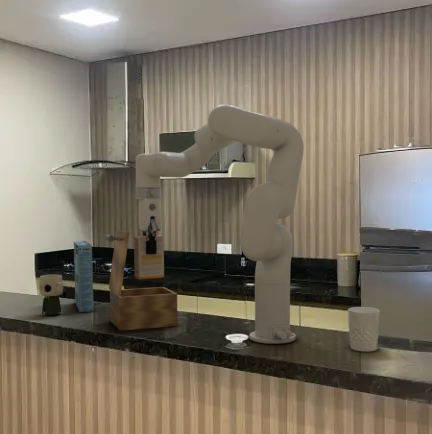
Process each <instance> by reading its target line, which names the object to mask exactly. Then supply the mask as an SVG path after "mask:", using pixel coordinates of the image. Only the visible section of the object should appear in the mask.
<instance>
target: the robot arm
mask: <svg viewBox="0 0 432 434" xmlns="http://www.w3.org/2000/svg"><path fill="white" fill-rule="evenodd" d="M193 135H194V136H193V137H194V141H195V143H194V144H193V145H191V146H190V147H188V148H187V149H185V150H183V151H181V152H173V151H157V152H153V153H139V154H137V155H136V157H135V199H136V200H138V229H139V230H140V231H141V232H140V233H141V234H140V236H147V241H146V254H156V253H157V241H156V240H157V238H156V235H157V232H160V231H161V230H162V219H161V218H162V217H161V205H160V204H161V203H160V199H161V197H162V196H161V195H162V193H161V192H162V191H161V178H178V179H179V178H185V177H188V176H190V175H191V174H193V173H195V172H196V171H198V170H200V169H202V168H203V167H204V166H205V165H207V163H209V161H211V159H212V156H214V155H215V154H217V153H219V152H220V151H222V150H223V149H225V148H227V147H230V145H232V144H234V143H236V142H237V143H240V144H244V145H247V146H250V147H253V148H260V149H267V150H271V151H272V152H273V154H272V157H271V158H270V162H269V163H268V168H267V175H266V180H265V182H262V183H260V184H257V185H256V186H254V187H253V188H252V189H251V190H250V191H249V193H248V195H247V197H246V200H245V206H244V209H243V210H244V211H243V216H242V224H241V229H240V230H241V231H240V237H239V238H240V240H239V244H240V249H241V252H242V253H243V255H244V256H245V258H247V259H249V260H250V261H253V262H256V263H255V264H256V265H255V272H254V330H253V331H252V332H250V333H249V335H248V336H249V340H250V341H253V342H255V343H259V344H270V345H271V344H272V345H279V344H280V345H281V344H288V343H292V342H294V341H295V340H296V339H297V336H296V334H295V333H294V332H292V331H291V263H292V255H293V249H294V239H293V235H292V232H291V231H290V230H289V229H288V228H287V226H286V225H283V224H281V223H278V221H279V220H280V219H281V220H282V219H286V218H288V217H289V216H290V215H292V214H293V212H294V209H295V205H296V200H297V193H298V188H299V182H300V174H301V169H302V168H301V167H302V162H303V158H304V150H305V149H304V140H303V137H302V135H301V133H300V131H299V130H298V129H297V128H296V127H295V126H294V125H293V124H291V123H290V122H288V121H286V120H284V119H282V118H278V117H275V116H270V115H266V114H261V113H258V112H254V111H250V110H247V109H244V108H242V107H240V106H236V105H231V104H227V103H222V104H219V105H217V106H215V107H214V108H212V110H211V111H210V112H209V115H208V118H207V123H206V124H204V125H202V126H201V127H198V128H197V129H196V130H195V131H194V134H193Z"/></svg>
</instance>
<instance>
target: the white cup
mask: <svg viewBox="0 0 432 434" xmlns="http://www.w3.org/2000/svg"><path fill="white" fill-rule="evenodd" d="M347 315H348V316H347V317H348V337H349V347H350V350H353V351H357V352H364V353H365V352H368V353H369V352H375V351H377V350H378V345H379V344H378V343H379V340H378V339H379V333H380V316H381V310H380V309H379V308H376V307H369V306H354V307H353V306H352V307H349V308H348V309H347Z"/></svg>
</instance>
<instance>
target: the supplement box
mask: <svg viewBox="0 0 432 434" xmlns="http://www.w3.org/2000/svg"><path fill="white" fill-rule="evenodd" d="M156 238H157V240H156V241H157V253H156V254H146V241H147V236H141V235H134V236H133V256H134V260H133V261H134V262H133V263H134V279H137V280H149V279H150V280H151V279H162V278H163V279H164V278H165V251H164V246H165V245H164V235H160V234H156Z"/></svg>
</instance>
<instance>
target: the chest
mask: <svg viewBox="0 0 432 434" xmlns="http://www.w3.org/2000/svg"><path fill="white" fill-rule="evenodd" d="M109 315H110V316H109V319H110V322H111V324H113V325H114V327H115V328H117V329H118V331H120V332H121V331H133V330H143V329H144V330H145V329H156V328H157V329H159V328H170V327H178V293H177V292H175V291H173V290H171V289H168V288H167V287H165V286H160V287H159V286H158V287H143V288H142V287H139V288H126V289H125V288H122V290H121V296H118V295H116V294H115V293H114V292H113V291H111V290H110V289H109Z"/></svg>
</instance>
